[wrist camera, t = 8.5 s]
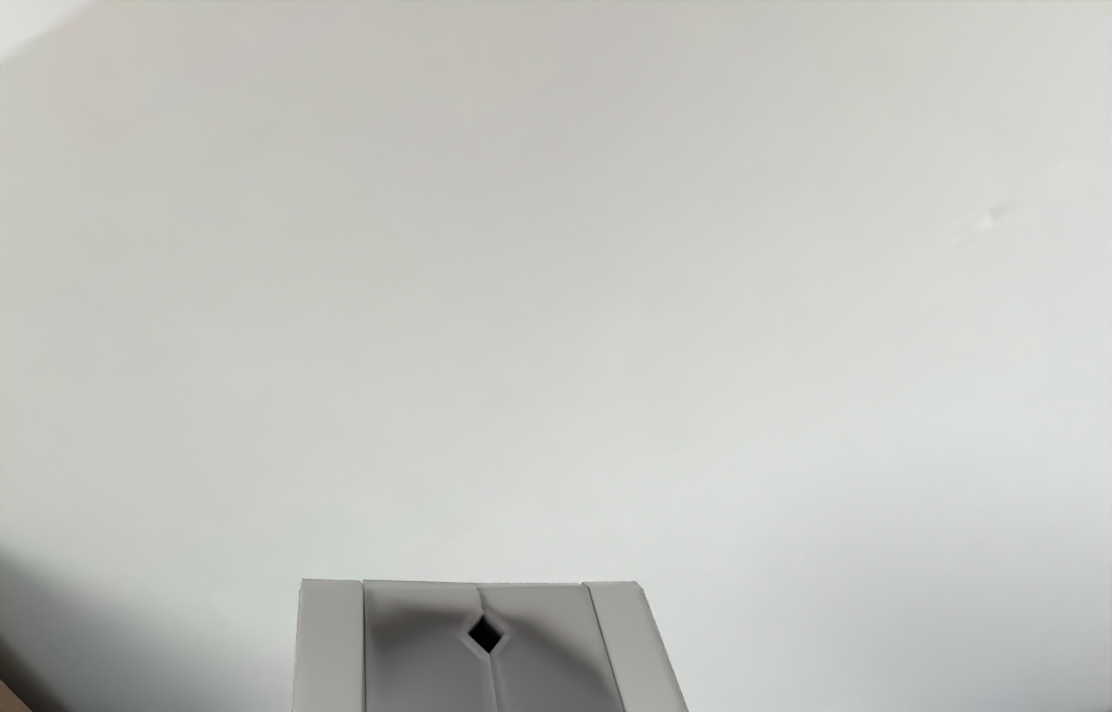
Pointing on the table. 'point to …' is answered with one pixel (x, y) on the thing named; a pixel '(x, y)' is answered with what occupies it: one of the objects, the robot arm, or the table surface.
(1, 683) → the drawer
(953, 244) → the table surface
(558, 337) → the table surface
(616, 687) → the robot arm
